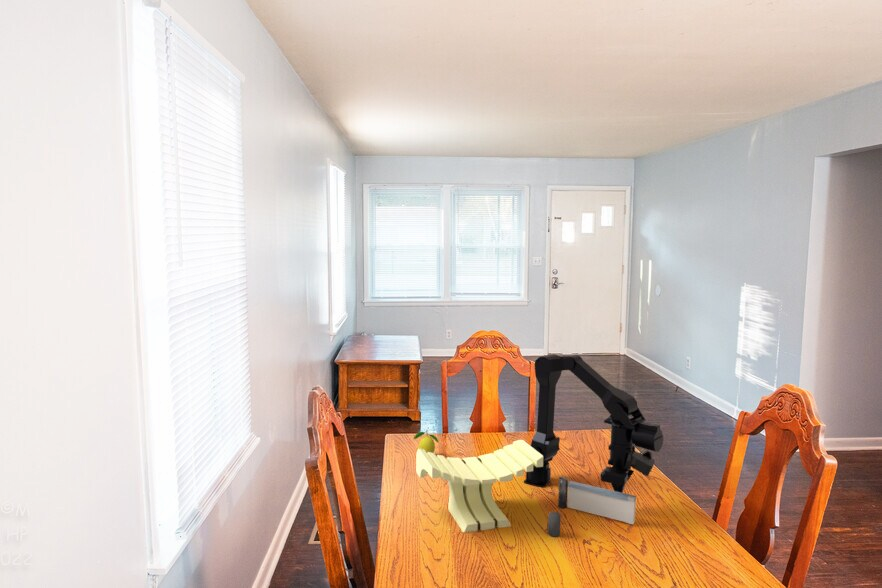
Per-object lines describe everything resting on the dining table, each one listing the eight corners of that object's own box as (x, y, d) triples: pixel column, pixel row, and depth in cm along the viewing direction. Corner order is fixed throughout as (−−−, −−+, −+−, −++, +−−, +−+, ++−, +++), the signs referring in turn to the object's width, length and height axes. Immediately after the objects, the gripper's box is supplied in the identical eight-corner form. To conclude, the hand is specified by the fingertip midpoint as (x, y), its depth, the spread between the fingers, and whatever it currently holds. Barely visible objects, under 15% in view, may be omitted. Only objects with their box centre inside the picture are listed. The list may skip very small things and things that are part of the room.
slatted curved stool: (516, 496, 164) (518, 436, 162) (541, 522, 149) (543, 456, 147) (415, 508, 155) (416, 445, 154) (431, 537, 140) (432, 467, 139)
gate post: (556, 507, 157) (557, 479, 157) (559, 503, 159) (560, 476, 159) (565, 509, 156) (566, 481, 155) (568, 506, 158) (569, 478, 157)
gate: (567, 507, 156) (568, 483, 155) (569, 505, 158) (570, 480, 157) (633, 524, 147) (634, 498, 147) (634, 521, 149) (635, 495, 148)
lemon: (413, 458, 191) (413, 429, 190) (422, 453, 196) (423, 425, 195) (429, 462, 188) (430, 433, 187) (439, 457, 193) (439, 428, 192)
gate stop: (546, 534, 142) (546, 515, 142) (550, 529, 145) (550, 510, 144) (557, 538, 141) (558, 518, 140) (561, 532, 143) (562, 513, 143)
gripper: (645, 458, 142) (642, 518, 143) (658, 437, 158) (656, 491, 159) (601, 450, 147) (598, 507, 149) (618, 430, 163) (615, 482, 165)
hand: (619, 497), depth 155 cm, fingers closed
